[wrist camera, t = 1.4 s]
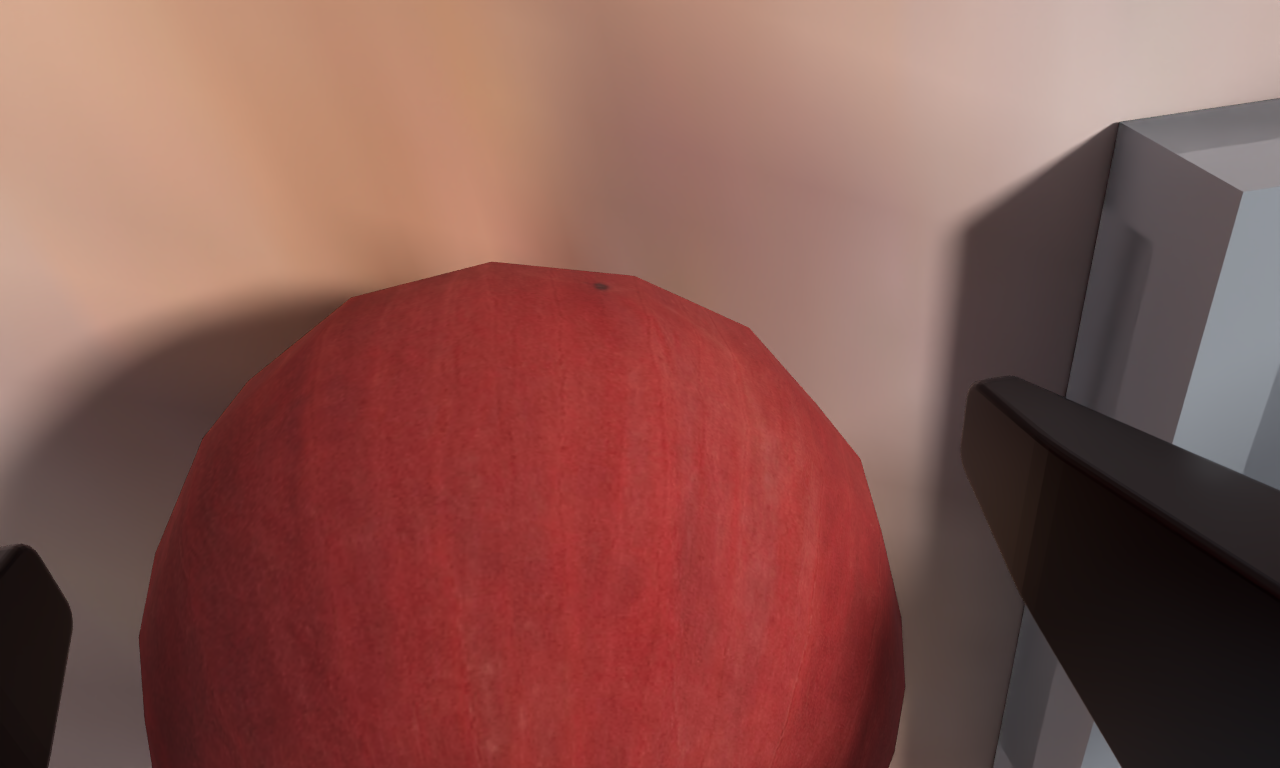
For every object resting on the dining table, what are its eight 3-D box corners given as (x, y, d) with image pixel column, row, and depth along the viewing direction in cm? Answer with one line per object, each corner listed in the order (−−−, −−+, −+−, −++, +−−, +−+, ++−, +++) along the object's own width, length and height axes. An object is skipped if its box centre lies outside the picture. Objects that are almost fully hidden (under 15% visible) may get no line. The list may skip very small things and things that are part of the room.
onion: (609, 608, 13) (757, 1443, 7) (176, 484, 11) (-230, 1553, 5) (852, 266, 11) (1444, 1046, 4) (361, 20, 9) (70, 868, 2)
